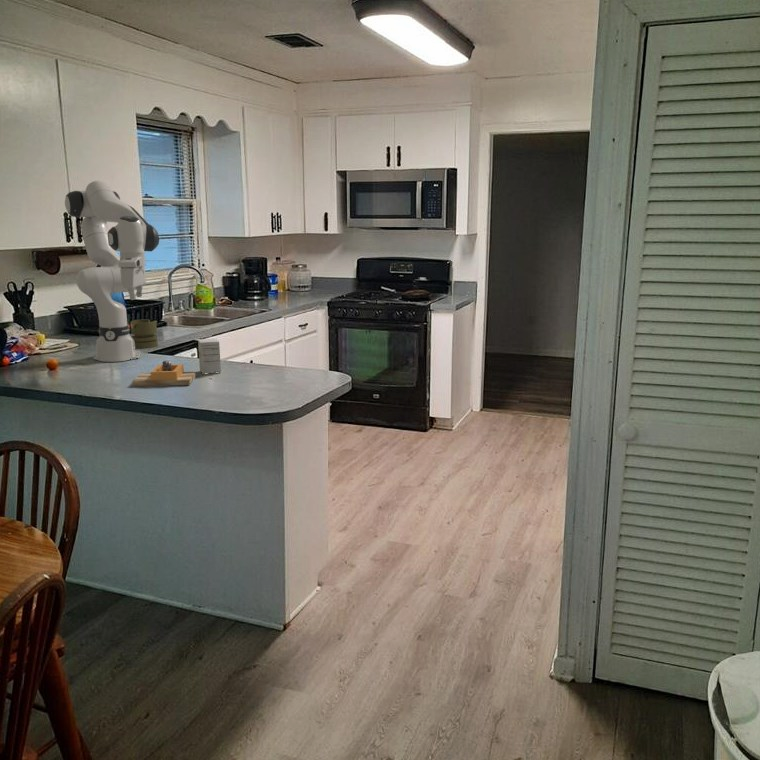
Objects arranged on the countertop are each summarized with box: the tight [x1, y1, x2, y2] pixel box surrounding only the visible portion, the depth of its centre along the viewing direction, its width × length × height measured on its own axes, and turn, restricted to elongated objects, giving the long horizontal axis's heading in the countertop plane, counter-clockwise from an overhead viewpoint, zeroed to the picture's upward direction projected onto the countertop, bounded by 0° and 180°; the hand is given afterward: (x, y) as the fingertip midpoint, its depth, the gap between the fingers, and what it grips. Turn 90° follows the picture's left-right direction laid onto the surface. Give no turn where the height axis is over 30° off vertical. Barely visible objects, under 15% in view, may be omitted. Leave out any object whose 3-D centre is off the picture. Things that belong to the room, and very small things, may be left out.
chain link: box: [150, 363, 185, 380], centre depth 260 cm, size 13×9×3 cm
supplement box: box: [197, 338, 222, 375], centre depth 275 cm, size 7×7×13 cm
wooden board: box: [131, 371, 197, 387], centre depth 261 cm, size 14×20×2 cm
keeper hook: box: [161, 360, 172, 371], centre depth 259 cm, size 4×3×6 cm, turn 4°
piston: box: [130, 318, 159, 350], centre depth 330 cm, size 11×12×11 cm
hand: (136, 298), depth 268 cm, fingers open, 8 cm apart
